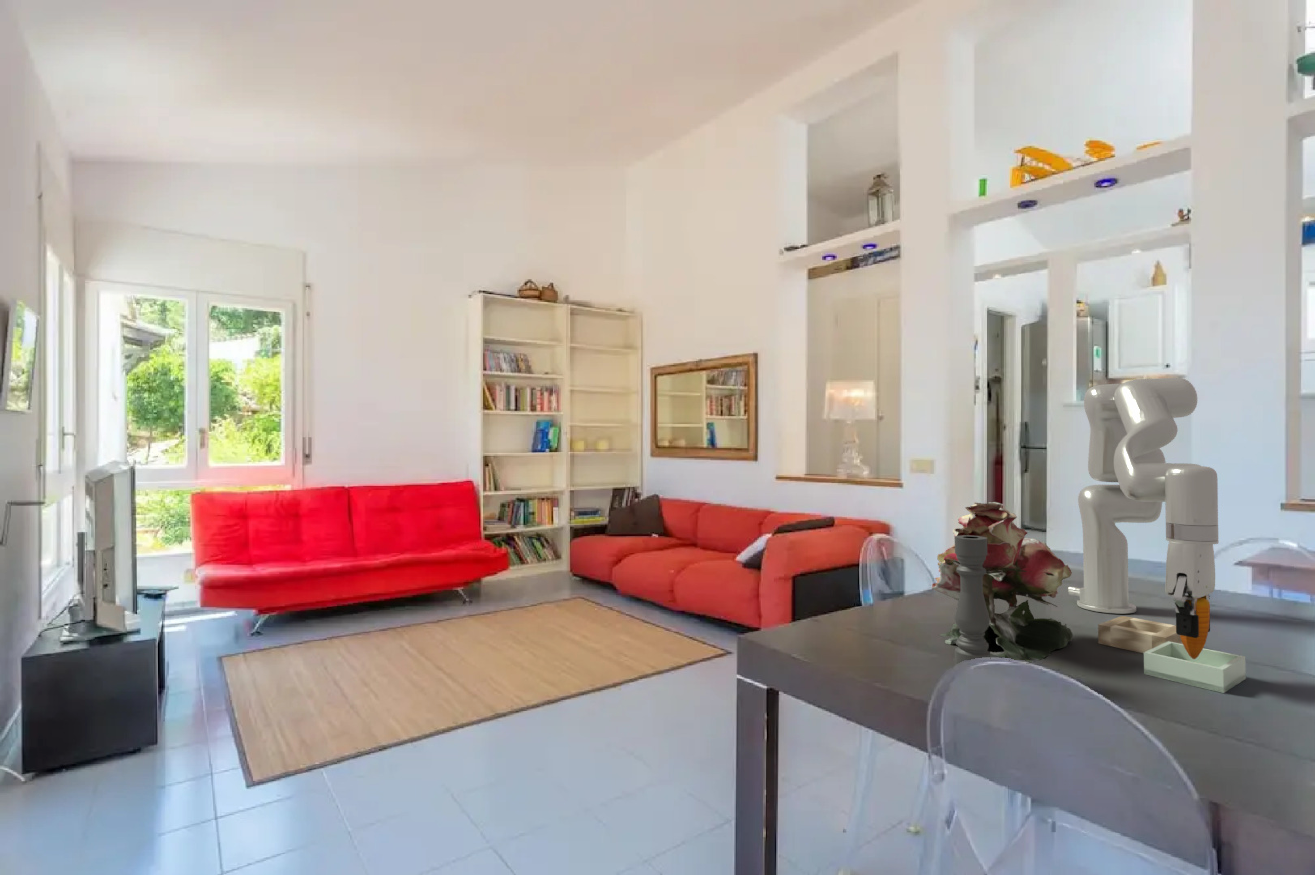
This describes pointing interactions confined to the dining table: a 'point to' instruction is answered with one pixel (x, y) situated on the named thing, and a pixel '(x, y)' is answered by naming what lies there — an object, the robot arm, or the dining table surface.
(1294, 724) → the dining table surface
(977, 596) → the candle holder
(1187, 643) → the carrot
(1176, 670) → the tray
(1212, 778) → the dining table surface
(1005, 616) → the rose bouquet
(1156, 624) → the wooden stand
